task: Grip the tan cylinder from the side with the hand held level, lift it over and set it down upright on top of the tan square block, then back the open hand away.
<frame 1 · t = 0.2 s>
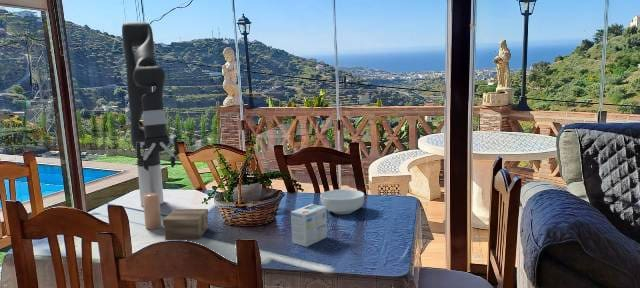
hand: (160, 168, 172), 22 cm above the table, tool pointing down, fingers open, 8 cm apart
watch: (265, 209, 194), on the table
tan cylinder: (153, 226, 176), on the table
light bulb box: (309, 240, 158), on the table
tan square block: (187, 233, 168), on the table
cereal bowl: (342, 212, 188), on the table
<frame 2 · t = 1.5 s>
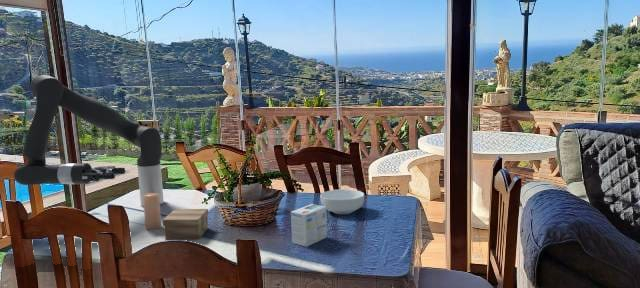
hand: (119, 173, 173), 20 cm above the table, tool horizontal, fingers open, 8 cm apart
nothing on the table moved.
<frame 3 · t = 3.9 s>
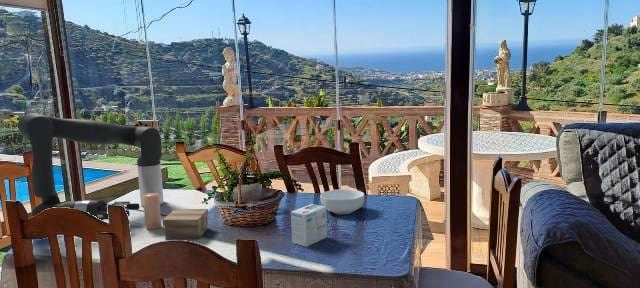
hand: (134, 209, 175), 7 cm above the table, tool horizontal, fingers open, 8 cm apart
nothing on the table moved.
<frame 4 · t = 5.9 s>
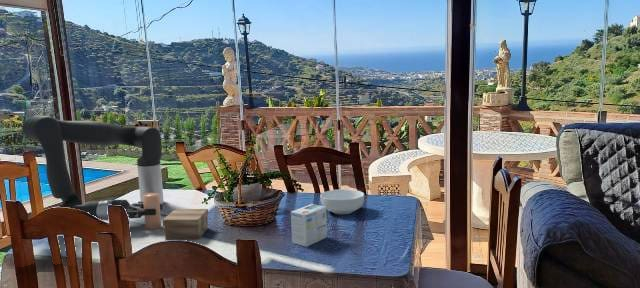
hand: (158, 209, 175), 7 cm above the table, tool horizontal, fingers closed on tan cylinder, 5 cm apart
tan cylinder: (153, 226, 176), on the table, touching gripper
everything else where it was.
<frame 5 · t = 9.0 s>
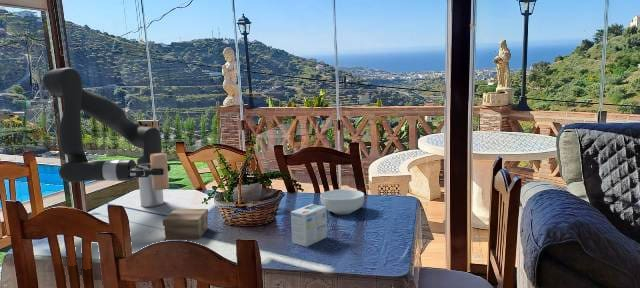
hand: (166, 169, 169), 22 cm above the table, tool horizontal, fingers closed on tan cylinder, 5 cm apart
tan cylinder: (160, 187, 170), point 15 cm above the table, touching gripper
everything else where it was.
when the fingers open (15 cm above the table, at t = 12.0 s): tan cylinder drops 1 cm, resting on tan square block.
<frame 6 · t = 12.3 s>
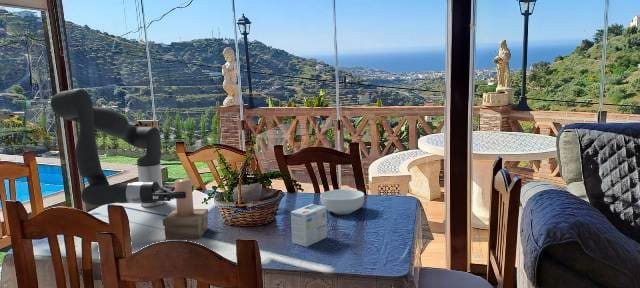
hand: (189, 191, 165), 15 cm above the table, tool horizontal, fingers open, 8 cm apart
tan cylinder: (185, 214, 167), point 7 cm above the table, touching tan square block
everything else where it was.
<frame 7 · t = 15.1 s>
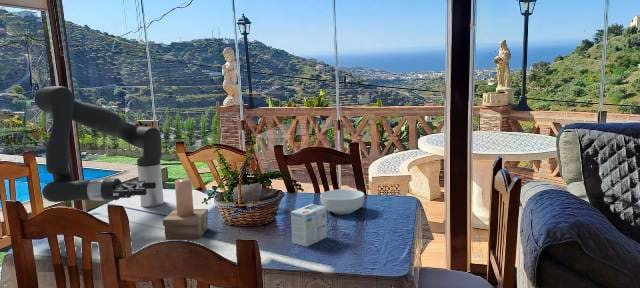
hand: (151, 188, 167), 16 cm above the table, tool horizontal, fingers open, 8 cm apart
nothing on the table moved.
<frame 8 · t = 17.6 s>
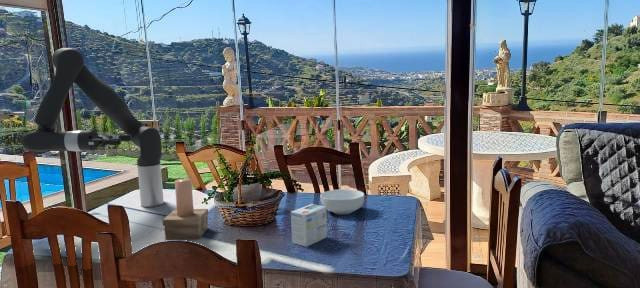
hand: (126, 139, 173), 32 cm above the table, tool horizontal, fingers open, 8 cm apart
nothing on the table moved.
at the end: tan cylinder inside the target area on the tan square block (0.1 cm from its centre), point 7.0 cm above the tan square block's base; tan cylinder tilted 0°; the gripper is holding nothing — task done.
